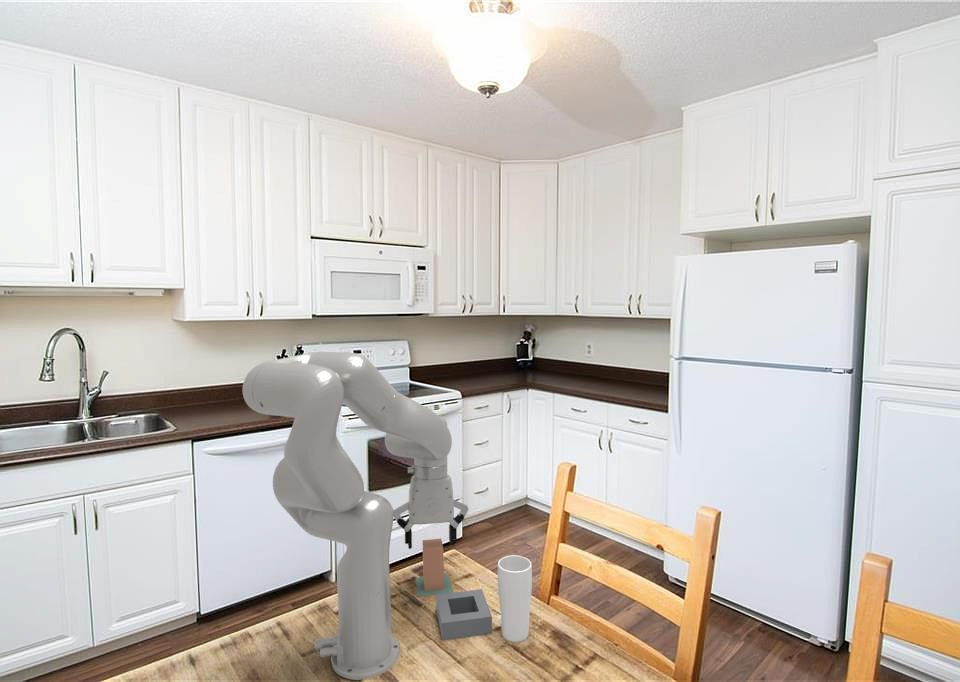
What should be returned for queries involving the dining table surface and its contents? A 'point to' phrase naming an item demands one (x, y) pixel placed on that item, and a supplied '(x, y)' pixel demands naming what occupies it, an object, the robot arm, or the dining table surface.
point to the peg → (433, 565)
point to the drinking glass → (515, 596)
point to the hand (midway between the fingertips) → (430, 544)
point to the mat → (422, 591)
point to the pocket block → (463, 614)
